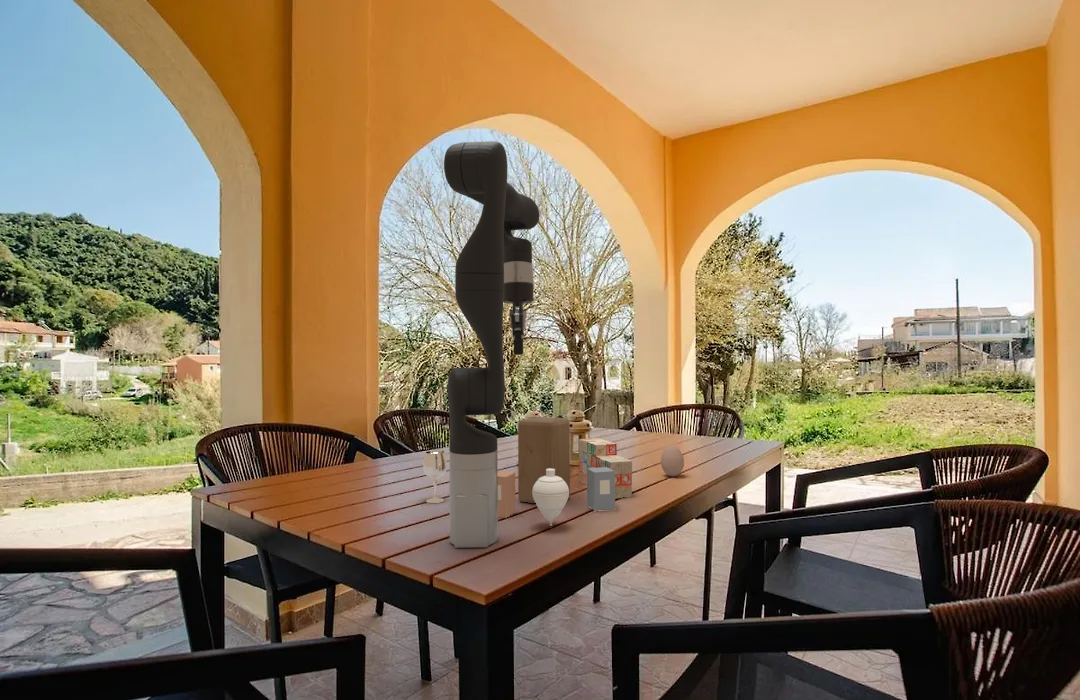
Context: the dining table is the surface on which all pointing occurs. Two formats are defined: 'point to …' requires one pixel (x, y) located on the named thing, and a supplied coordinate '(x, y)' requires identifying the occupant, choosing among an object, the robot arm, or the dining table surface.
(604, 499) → the slate painted block
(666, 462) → the egg
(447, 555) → the dining table surface
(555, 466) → the wooden block
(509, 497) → the terracotta painted block
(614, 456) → the stack of blocks
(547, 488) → the spinning top
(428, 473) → the wineglass
